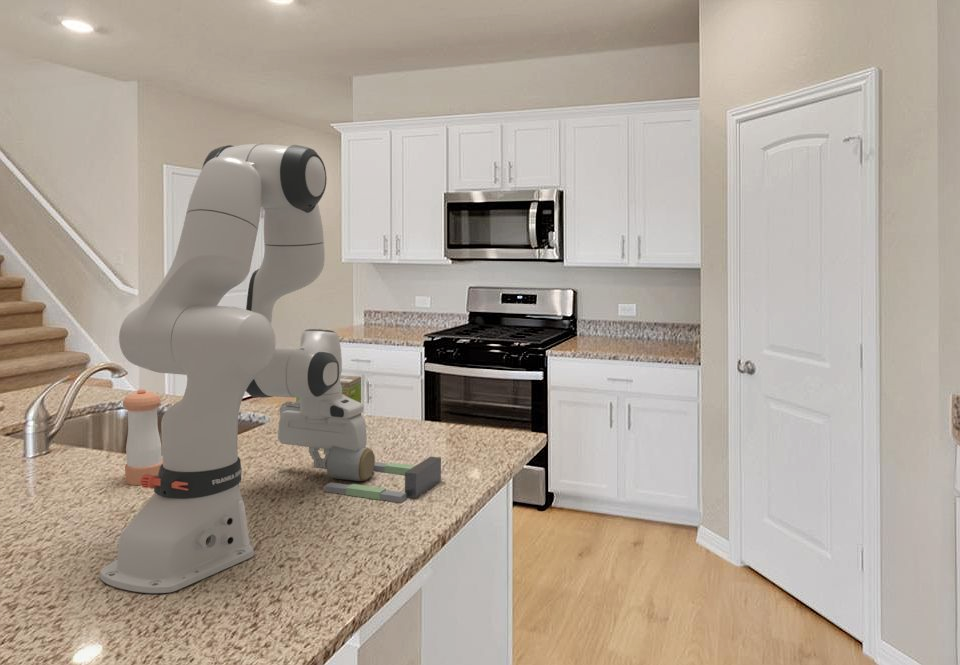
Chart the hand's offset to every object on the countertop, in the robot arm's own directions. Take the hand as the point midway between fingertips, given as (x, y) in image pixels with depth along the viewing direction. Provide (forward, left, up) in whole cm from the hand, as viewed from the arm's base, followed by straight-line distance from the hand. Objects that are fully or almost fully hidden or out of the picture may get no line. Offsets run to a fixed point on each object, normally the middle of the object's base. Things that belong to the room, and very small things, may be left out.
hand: (321, 467), depth 150 cm
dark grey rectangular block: (0, -24, -2) cm, 24 cm away
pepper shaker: (-17, +32, -2) cm, 36 cm away
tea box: (+34, +20, -2) cm, 40 cm away
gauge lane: (0, -15, -2) cm, 15 cm away
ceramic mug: (+1, -7, -2) cm, 7 cm away
